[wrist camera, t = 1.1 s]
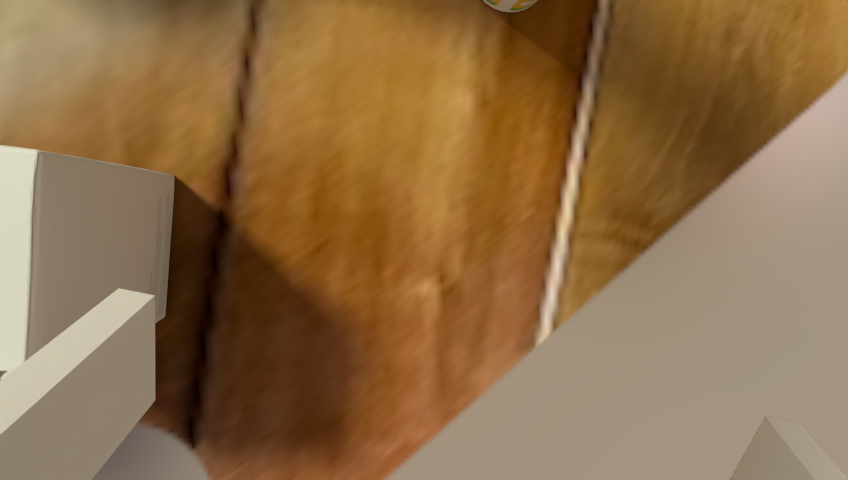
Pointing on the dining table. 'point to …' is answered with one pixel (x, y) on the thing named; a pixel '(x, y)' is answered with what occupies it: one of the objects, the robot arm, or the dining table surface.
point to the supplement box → (75, 242)
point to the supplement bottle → (510, 4)
